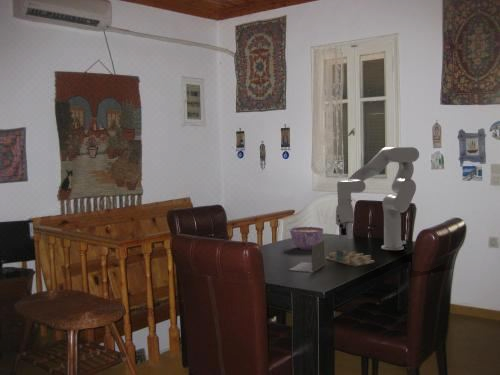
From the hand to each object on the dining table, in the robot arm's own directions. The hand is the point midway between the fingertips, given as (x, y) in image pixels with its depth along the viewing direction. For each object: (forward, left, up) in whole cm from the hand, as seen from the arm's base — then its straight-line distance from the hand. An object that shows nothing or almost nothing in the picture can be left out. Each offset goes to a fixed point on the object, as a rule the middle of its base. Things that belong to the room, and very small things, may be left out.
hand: (345, 234), depth 289 cm
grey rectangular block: (0, 0, -2) cm, 2 cm away
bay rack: (+14, +18, -10) cm, 25 cm away
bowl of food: (+11, -22, -11) cm, 27 cm away
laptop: (+41, +17, -11) cm, 46 cm away
